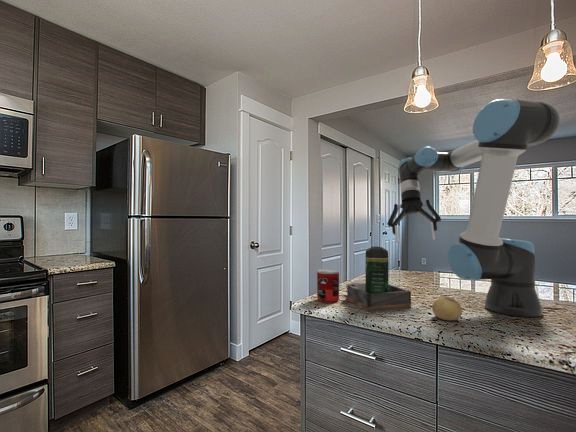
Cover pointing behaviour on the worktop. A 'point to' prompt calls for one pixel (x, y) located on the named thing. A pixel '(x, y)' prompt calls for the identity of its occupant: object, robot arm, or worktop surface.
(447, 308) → the onion
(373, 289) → the coffee jar
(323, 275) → the canned food
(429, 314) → the worktop surface
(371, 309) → the tray
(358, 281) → the teacup
